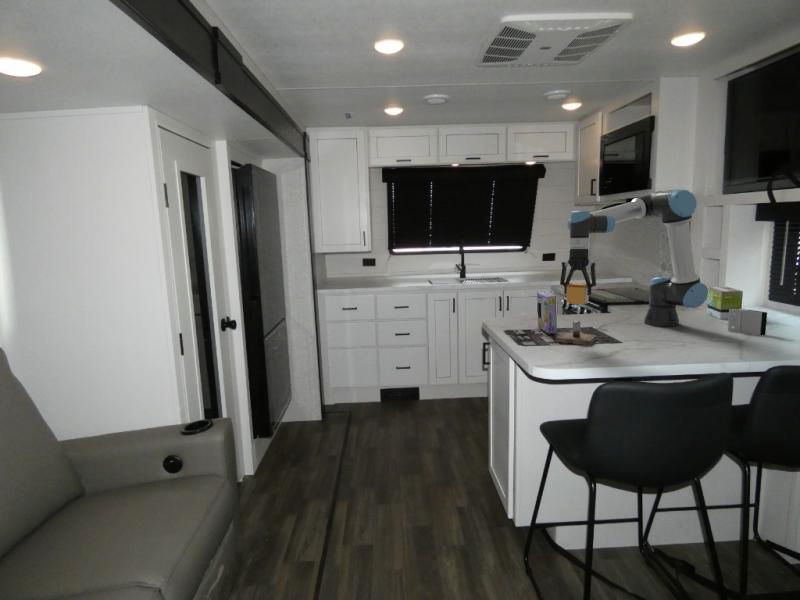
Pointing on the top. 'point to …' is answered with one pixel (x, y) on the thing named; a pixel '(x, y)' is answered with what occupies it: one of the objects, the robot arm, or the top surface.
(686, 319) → the top surface
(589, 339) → the base plate
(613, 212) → the robot arm
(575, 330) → the post
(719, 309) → the tea box
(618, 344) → the top surface
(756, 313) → the gray black rectangular block
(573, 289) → the orange cube block
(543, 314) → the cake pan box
